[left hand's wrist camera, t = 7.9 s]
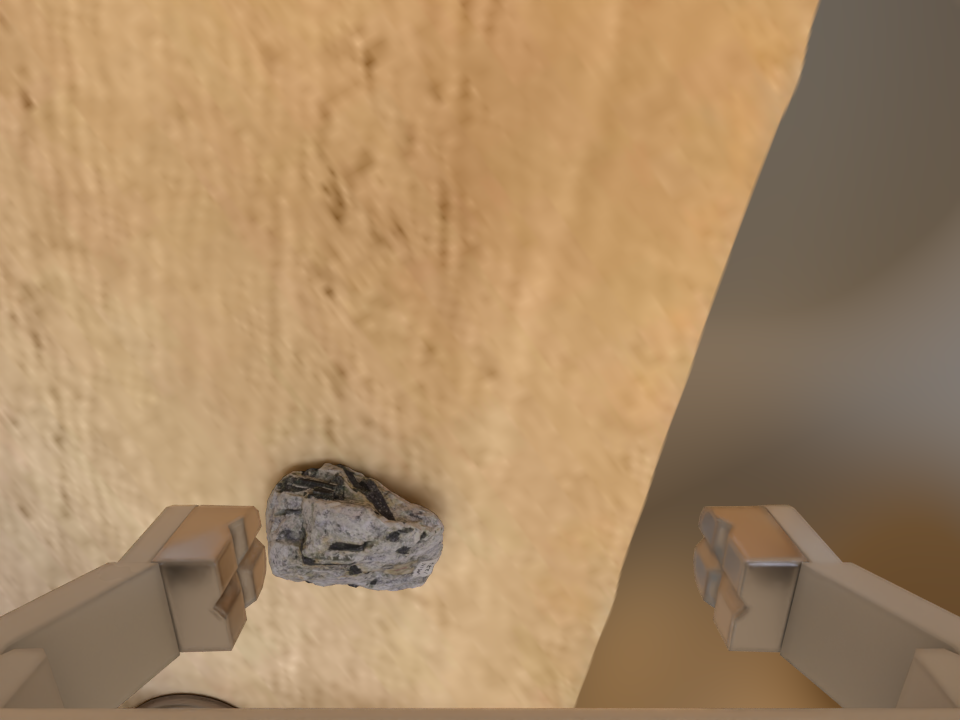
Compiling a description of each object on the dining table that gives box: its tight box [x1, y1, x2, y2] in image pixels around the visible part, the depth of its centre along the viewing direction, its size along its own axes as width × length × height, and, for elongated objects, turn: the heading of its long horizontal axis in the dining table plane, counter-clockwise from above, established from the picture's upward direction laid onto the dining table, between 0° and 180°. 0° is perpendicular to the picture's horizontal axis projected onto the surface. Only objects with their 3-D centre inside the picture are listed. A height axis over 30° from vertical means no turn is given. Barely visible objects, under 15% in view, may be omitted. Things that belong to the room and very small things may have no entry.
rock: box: [266, 463, 444, 591], centre depth 46 cm, size 15×10×7 cm
